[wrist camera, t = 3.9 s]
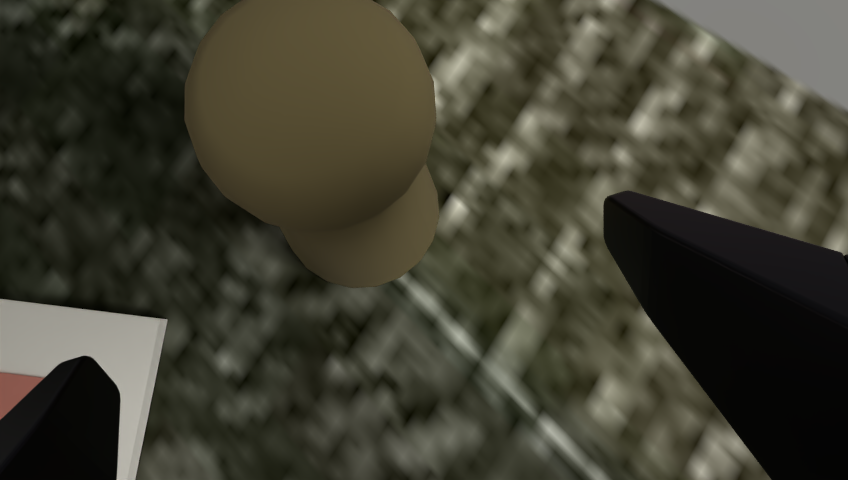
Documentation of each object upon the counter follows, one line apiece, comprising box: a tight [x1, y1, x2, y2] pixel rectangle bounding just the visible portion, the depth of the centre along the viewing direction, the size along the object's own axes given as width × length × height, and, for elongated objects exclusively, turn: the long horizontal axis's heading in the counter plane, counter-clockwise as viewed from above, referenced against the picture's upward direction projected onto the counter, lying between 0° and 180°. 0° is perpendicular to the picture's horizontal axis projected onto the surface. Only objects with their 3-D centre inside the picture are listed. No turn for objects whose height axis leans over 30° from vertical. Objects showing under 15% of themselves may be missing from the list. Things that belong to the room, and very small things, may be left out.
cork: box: [184, 0, 439, 288], centre depth 15 cm, size 6×6×11 cm
